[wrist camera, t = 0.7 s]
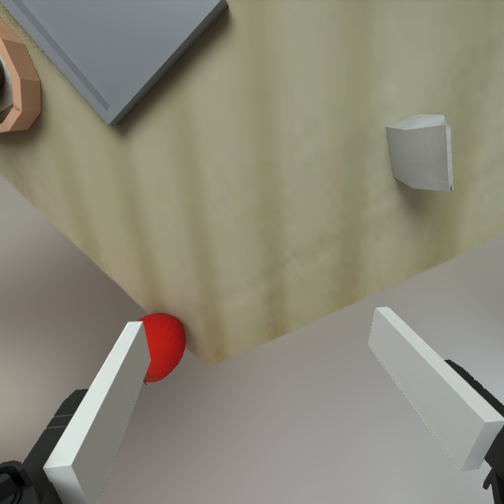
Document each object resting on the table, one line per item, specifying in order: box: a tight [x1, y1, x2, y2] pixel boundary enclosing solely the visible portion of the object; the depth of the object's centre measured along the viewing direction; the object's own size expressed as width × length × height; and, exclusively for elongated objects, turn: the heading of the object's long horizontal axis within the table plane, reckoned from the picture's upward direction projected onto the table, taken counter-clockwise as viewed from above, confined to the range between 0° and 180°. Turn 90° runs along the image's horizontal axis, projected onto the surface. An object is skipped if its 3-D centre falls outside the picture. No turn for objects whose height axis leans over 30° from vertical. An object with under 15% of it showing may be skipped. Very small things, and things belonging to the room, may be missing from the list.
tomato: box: [136, 313, 186, 384], centre depth 48 cm, size 12×12×13 cm
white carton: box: [386, 114, 453, 193], centre depth 28 cm, size 4×7×10 cm, turn 23°
